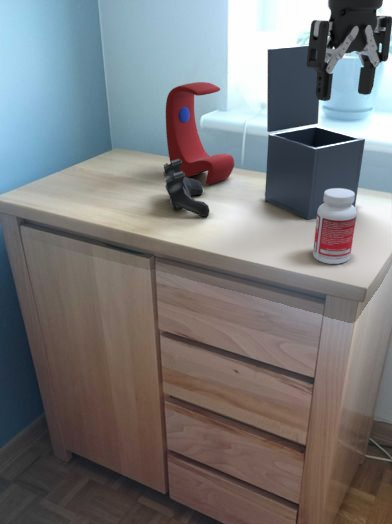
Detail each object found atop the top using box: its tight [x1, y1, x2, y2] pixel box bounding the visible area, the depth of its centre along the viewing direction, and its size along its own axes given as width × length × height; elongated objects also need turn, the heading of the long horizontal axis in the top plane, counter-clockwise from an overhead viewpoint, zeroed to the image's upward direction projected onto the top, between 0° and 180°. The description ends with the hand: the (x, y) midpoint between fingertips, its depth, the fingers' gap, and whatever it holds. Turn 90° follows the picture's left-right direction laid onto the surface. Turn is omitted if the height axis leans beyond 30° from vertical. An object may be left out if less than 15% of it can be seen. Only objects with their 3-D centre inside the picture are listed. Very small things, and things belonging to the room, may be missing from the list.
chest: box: [264, 125, 366, 220], centre depth 112 cm, size 14×13×13 cm
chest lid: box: [266, 44, 320, 133], centre depth 109 cm, size 14×13×1 cm
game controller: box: [163, 159, 211, 217], centre depth 114 cm, size 16×7×10 cm, turn 5°
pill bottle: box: [312, 188, 358, 265], centre depth 91 cm, size 6×6×11 cm
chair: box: [165, 81, 235, 186], centre depth 126 cm, size 15×7×20 cm, turn 47°
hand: (344, 97), depth 85 cm, fingers open, 8 cm apart
